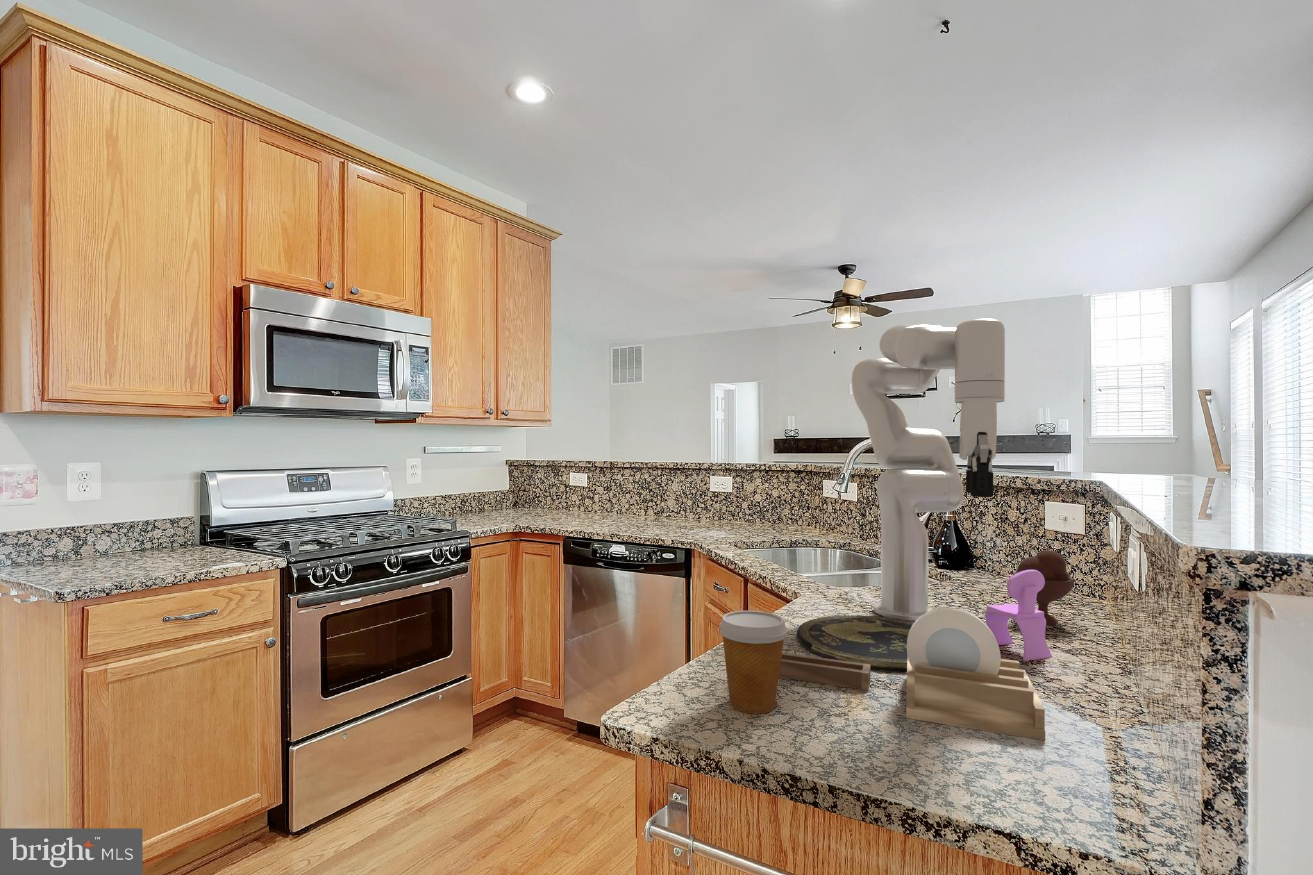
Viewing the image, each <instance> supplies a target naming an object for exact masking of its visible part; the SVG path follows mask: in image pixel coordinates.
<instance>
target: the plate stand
mask: <svg viewBox="0 0 1313 875" xmlns="http://www.w3.org/2000/svg"><path fill="white" fill-rule="evenodd" d="M870 665H871V664H864V663H856V662H849V661H841V660H834V659H827V658H822V657H819V656H810V655H804V654H798V653H797V654H795V653H787V652H782V658H781V666H780V673H779V678H784V679H791V680H795V681H797V680H798V681H804V682H810V683H817V684H824V685H830V686H838V687H842V688H850V689H857V690H863V691H869V689H870V685H871V669H870Z"/></svg>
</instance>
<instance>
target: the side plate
mask: <svg viewBox="0 0 1313 875" xmlns="http://www.w3.org/2000/svg"><path fill="white" fill-rule="evenodd" d="M933 609H934V610H931V611H929V612H927V613H925V614H923V615H922V616H920V617H919V618H918V619H917V620H916V621H913V622H914V624H913V625H912V627H911V629H910V631H909V634H908V638H907V655H908V659H909V662H910V665H911V667H912V669H913V670H914V672H915V664H918V665H925V666H933V667H940V668H948V669H956V670H963V671H971V672H978V673H986V674H994V675H997V674H998V671H999V668H1000V662H1001V659H1002V658H1001V651H1000V650H1001V649H1000V647H999V646H1000V645H998V643H997V641H996V638H995V636H994V635H993V633H992V631H991V630H990V628H989V627H988V626H987V623H985V622H984V621H983V620H982V619H980V617H979V616H978V617H977V616H976V615H975V614H973V613H971V612H969V611H966V610H965V609H960V608H957V607H955V608H954V607H939V608H933Z"/></svg>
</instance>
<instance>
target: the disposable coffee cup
mask: <svg viewBox="0 0 1313 875" xmlns="http://www.w3.org/2000/svg"><path fill="white" fill-rule="evenodd" d="M721 618H722V619H721V622H720V623H719V625H718V629H719V631H720V634H721V637H722V642H723V643H722V644H723V653H724V663H725V670H726V672H725V673H726V680H727V690H728V696H729V705H730V706H731V707H732V708H733V709H735V710H737V711H739V712H742V713H746V714H752V715H753V714H754V715H756V714H758V715H759V714H766V713H769V712H772V711H773V710H774V709H775V708H776V704H777V703H776V702H777V693H778V687H779V680H780V677H779V673H780V666H781V658H782V653H783V648H784V641H785V638H786V636H787V634H788V632H789V631H788V628H787V627H786V624H785V620H784V619H785V618H784V617H782V616H780V615H778V614H774V613H772V612H765V611H761V610H760V611H759V610H735V611H731V612H727V613H725V614H723V615H722V617H721Z"/></svg>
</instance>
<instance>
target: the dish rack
mask: <svg viewBox="0 0 1313 875" xmlns="http://www.w3.org/2000/svg"><path fill="white" fill-rule="evenodd" d="M1020 666H1021V665H1020V662H1019V660H1014V659H1013V660H1012V659H1005V658H1001V662H1000V668H999V671H998V674H997V675H994V674H986V673H978V672H971V671H963V670H956V669H948V668H940V667H933V666H925V665H918V664H915V672H914V670H913V669H912V667H911V665H910V662H909V659H908V658H907V673H906V712H905V713H906V719H912V720H918V721H921V722H922V721H923V722H930V723H937V724H942V725H948V726H954V727H960V728H966V729H973V730H979V731H984V732H991V733H996V734H997V733H998V734H1003V735H1010V736H1016V737H1021V738H1027V739H1034V740H1039V741H1046V730H1045V729H1046V728H1045V725H1046V724H1045V720H1046V717H1045V714H1046V713H1045V712H1046V711H1045V708H1044V706H1043V704H1042V702H1041V700H1040V697H1039V695H1038V693H1037V692H1036V689H1035V688H1034V685H1033V684H1032V682H1031V681H1032V680H1030V678H1029V676H1028V673H1027V672H1026V670H1025V669H1022V668H1021V669H1020Z"/></svg>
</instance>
